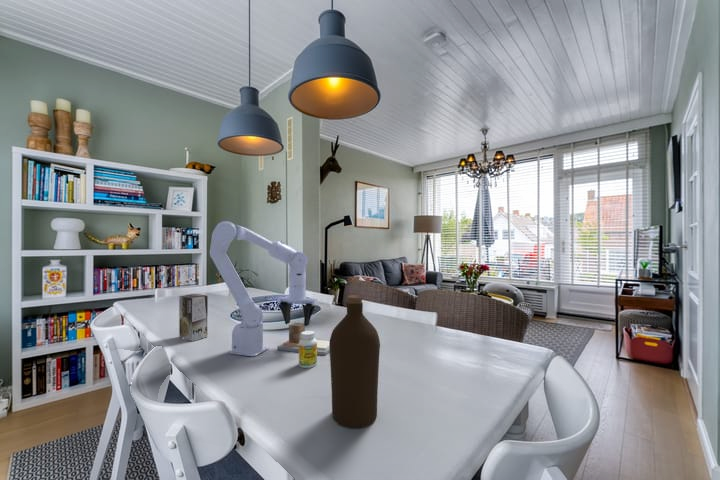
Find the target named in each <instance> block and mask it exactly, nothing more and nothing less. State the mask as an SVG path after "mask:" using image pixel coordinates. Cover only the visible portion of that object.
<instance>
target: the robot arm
mask: <svg viewBox="0 0 720 480" xmlns="http://www.w3.org/2000/svg"><path fill="white" fill-rule="evenodd" d="M235 238H236V241H247V242H250V243H252V244H254V245H257V246H258V247H260V248H263V249H265V250H267V252H268V255H269V256H270V257H272V258H274V259H276V260H279V261H280V262H283V263H284V264H288V265H289V274H288V284H289V285H288V296H278V297H277V304H278V308H279V309H280V311H281V314H282V316H283V319H284V324H285V325H289V324H290V323H291V311H292V304H296V305H303V306H302V309H303V315H304V316H303V323H304V325H305V327H307V326H309V325H310V322H311V318H312V314H313V312H314V310H315V308H316V306H317V305H318V298H311V297H306V294H307V293H306V289H307V287H306V286H307V285H306V283H307V282H306V278H307V272H306V266H307V265H308V263H309V259H308V257H307V256H306V254H305V253H303V252H301V251H298V250H297V249H298V248H296V247H291V246H289V245H288V244H286V243H285V241H283V240H281V241H279V240H275V241H271V240H269V239H268V238H265V237H263V236H262V235H259V234H258V233H256V232H254V231H252V230H250V229H249V228H247V227H244V226H241V225H238V224H234V223H233V222H231V221H229V220H224V221H220V222H219V223H218V224H217V225H216V226H215V227H214V229H213V231H212V233H211V241H210V246H209V247H210V249H209V256H210V258H211V260H212V262H213V263H214V265H215V267H216V268H217V270H218V272H219V274H220V276H221V278H222V279H223V282H224V283H225V284H226V286H227V288H228V290H229V292H230V294H231V295H232V297H233V299H234V300H235V303H236V304H237V306H238V308H239V311H240V313H241V319H242V321H241V322H240V323H238V324H235V326H234V327H233V329H232V331H231V351H230V352H229V353H230V354H232V355H239V356H247V357H256V356H258V355H260V354H261V353H263V352H265V351H267V350H268V349H269V347H268V346H264V343H263V342H264V322H263V318H264V315H263V312H262V310H261V307H260V306H259V304H258V303H256V302H255V301H254V300H253V299H252V297H251V295H250V294H249V292H248V290H247V288H246V286H245V285H244V283H243V282H242V279H241V277H240V276H239V274H238V272H237V270H236V268H235V267H234V265H233V263H232V261H231V260H230V257H229V256H228V254H227V252H228V250H229V247H230V244H231V243H232V242H233V241H234V239H235Z"/></svg>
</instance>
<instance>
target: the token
mask: <svg viewBox="0 0 720 480" xmlns="http://www.w3.org/2000/svg"><path fill="white" fill-rule="evenodd" d="M305 327H306V326H305V325H304V322H293V323H291V324H288V340H289V343H298V344H299V341H300V340H301V339H302V338H301V333H302V332H304V331H306V329H305Z"/></svg>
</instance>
